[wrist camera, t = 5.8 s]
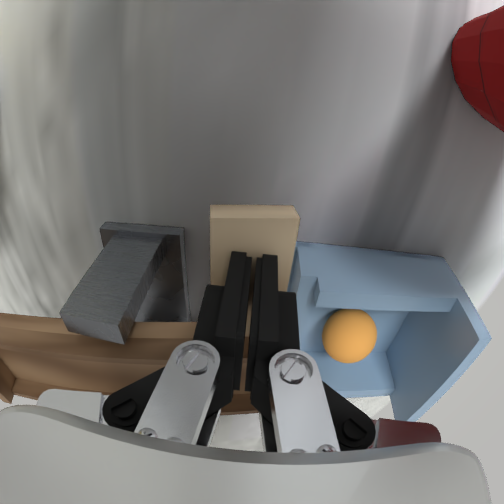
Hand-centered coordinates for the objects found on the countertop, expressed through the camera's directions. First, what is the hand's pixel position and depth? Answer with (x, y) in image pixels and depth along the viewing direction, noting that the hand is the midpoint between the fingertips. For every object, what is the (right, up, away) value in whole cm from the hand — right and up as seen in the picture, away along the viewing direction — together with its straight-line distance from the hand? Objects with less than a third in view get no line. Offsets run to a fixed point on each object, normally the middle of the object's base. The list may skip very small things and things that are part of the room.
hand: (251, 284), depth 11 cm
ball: (+6, -4, +6) cm, 9 cm away
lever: (-8, -2, +2) cm, 8 cm away
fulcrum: (-7, -2, +8) cm, 11 cm away
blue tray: (+7, -3, +8) cm, 11 cm away
